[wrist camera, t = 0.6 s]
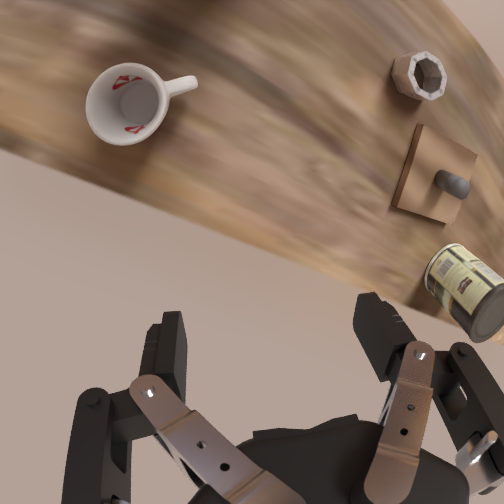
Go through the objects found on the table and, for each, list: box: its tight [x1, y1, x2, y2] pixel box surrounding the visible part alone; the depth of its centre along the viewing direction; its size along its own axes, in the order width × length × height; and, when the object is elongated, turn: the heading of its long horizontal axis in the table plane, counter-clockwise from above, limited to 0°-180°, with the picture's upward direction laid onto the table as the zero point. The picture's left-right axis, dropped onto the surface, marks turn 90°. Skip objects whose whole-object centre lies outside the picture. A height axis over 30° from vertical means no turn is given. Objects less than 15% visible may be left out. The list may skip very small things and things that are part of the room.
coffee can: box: [424, 243, 504, 343], centre depth 42 cm, size 10×10×14 cm
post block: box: [392, 124, 477, 225], centre depth 37 cm, size 12×12×6 cm
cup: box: [85, 63, 198, 146], centre depth 28 cm, size 11×8×8 cm
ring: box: [391, 51, 447, 101], centre depth 31 cm, size 6×6×4 cm
